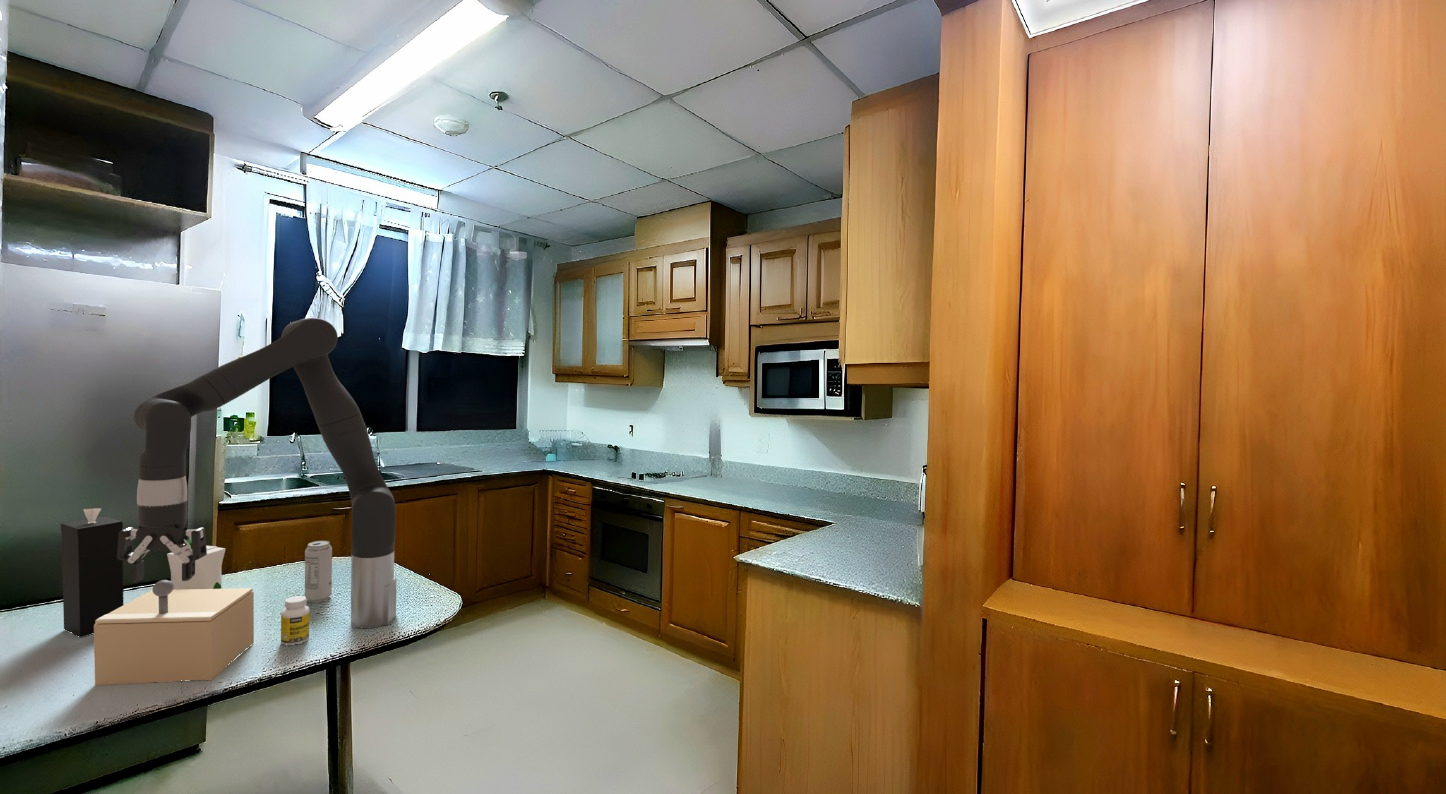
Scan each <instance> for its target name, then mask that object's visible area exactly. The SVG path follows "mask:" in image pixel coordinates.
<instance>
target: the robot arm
mask: <svg viewBox="0 0 1446 794" xmlns="http://www.w3.org/2000/svg"><path fill="white" fill-rule="evenodd" d="M280 336H281V337H279V338H278V339H276V340H275V341H273V342H272V343H269V344H268V345H266V346H263V347H261V348H259V349H257V350H256V351H253V352H251V353H249V354H245V355H244V356H241V357H239V358H236V359H233V360H232V361H229V362H227V363H225V364H222V365H220V366H218V367H216V368H213V369H212V370H210V371H208V372H206V373H204V374H202V375H200V376H198V377H196V378H195V379H193V380H191V381H189V382H187V383H184V384H182V385H179V386H175V387H174V388H171V389H168V390H166V391H163V392H161V393H159V394H156V395H153V396H151V397H149V398H147V399H146V400H144V401H143V402H141V403H140V404H138V406H137V407H136V408H135V410H134V412H133V421H134V423H135V425H136V426H137V427H138V428H139V429H140V430H141V431H144V432H145V433H146V434H145V446H144V449H143V450H142V451H141V452H140V453H139V457H138V484H137V489H136V490H137V491H136V507H137V508H136V514H137V519H136V521H137V522H136V524H137V526H138V527H137V528H134V527H133V526H129V527H126V528H124V529H123V528H122V530H121V531H119V535H118V551H117V559H118V560H123V561H125V562H127V563H129V577H130V579H131V580H132V582H139V581H142V580H144V578H145V560H143V559H144V557H146V555H147V554H148V553H149V552H154V553H155V552H158V551H160V552H167V553H168V552H169V553H170V552H171V553H173V554H174V555H177V556H178V557H179V558H180V559H181V560H182V561H183V562H184V563H182V581H188V580H190V579H191V578H192V577H193V576H194V575H195V561H196V560H198V559H200V558H202V557H204V556H206V555H207V548H206V546H207V534H206V528H205V527H201V526H200V527H198V528H193V529H189V528H188V527H187V526H188V525H187V521H188V482H187V476H186V472H187V471H186V467H187V465H186V463H187V461H186V460H187V459H186V453H187V449H188V445H189V441H190V437H191V430H192V417H195V416H196V415H198V414H201V413H204V412H211V411H215V410H217V409H219V408H221V407H223V406H225V405H227V404H228V403H230V402H232V401H234V400H236V399H237V398H239V397H240V396H243V395H245V394H247V393H248V392H249V391H252V390H253V389H254V388H256V387H258V386H259V385H262V384H263V383H265V382H267V381H268V380H270V379H272V378H273V377H275V376H277V375H279V374H281V373H283V372H285V371H288V370H289V369H291V368H293V369H294V371H295V372H296V374H297V376H298V378H299V381H300V382H301V384H302V387H303V389H304V393H305V395H306V398H307V401H308V403H309V407H310V409H311V411H312V413H313V416H314V419H315V421H316V422H315V423H316V424H317V427H318V429H319V432H320V435H321V437H322V440H323V441H324V444H325V446H326V448H327V450H328V451H329V453H330V454H331V456H332V458H333V459H334V461H335V462H336V464H337V465H338V467H339V469H340V470H341V473H342V475H343V476H344V479H345V482H346V485H347V488H348V493H349V496H350V500H351V543H350V544H351V563H350V566H351V567H350V568H351V571H350V575H351V576H350V625H351V626H352V625H353V626H352V627H354V626H355V627H354V628H357V627H360V628H359V629H370V628H369V627H373V628H376V627H378V628H379V627H381V625H382V626H388V625H389V624H390V623H391V622H392V621H393V619H394V618H395V617H396V616H397V578H395V541H396V518H397V517H396V516H397V515H396V514H397V513H396V512H397V511H396V509H397V508H396V502H395V497H394V495H393V493H392V492H391V490H390V489H389V487H388V485H387V484H386V481H385V479H384V478H383V475H382V474H381V472H380V470H379V468H378V465H377V463H376V460H375V456H374V451H373V446H372V443H371V438H370V436H369V435H370V434H369V432H368V428H367V425H366V423H365V421H364V418H363V415H362V413H361V410H360V408H359V406H358V403H356V401H355V400H354V398H353V397H352V395H351V394H350V393H349V391H348V390H347V389H346V388H345V387H344V385H343V384H342V383H341V382H340V380H339V379H338V377H337V375H336V374H335V372H334V370H333V367H332V364H331V361H330V358H329V356H328V355H329V354H330V353H331V352H332V351H334V349H335V348H336V347H337V343H338V339H339V338H338V332H337V329H336V328H335V326H334V325H333V324H331V323H330V322H329V321H327V320H325V319H323V318H318V317H304V318H302V319H299V320H296V321H295V320H294V321H293V322H292V321H291V322H290V323H289V324H287V325H285V327H284V329H283V331H282V333H281V335H280ZM187 537H188V539H189V540H192V549H191V546H190V544H189V543H188V542H187V541H186V540H187V539H186V538H187ZM136 538H137V539H138V540H139V541H140V542H141V543H140V544H138V546H137V547H136V548H135V549H134V546H135V545H134V542H135V539H136ZM179 545H180V546H181V548H179V547H178V546H179ZM361 627H362V628H361Z"/></svg>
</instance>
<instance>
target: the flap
mask: <svg viewBox="0 0 1446 794" xmlns="http://www.w3.org/2000/svg"><path fill="white" fill-rule="evenodd" d="M173 588H174V585H173V583H172V582H171V580H168V579H161V580H159V581H157V582H156V583H154V585H152V589H150V590H149V591H147V592H145V593H143V594H142V595H140V596H138V597H136V598H134V599H132V600H130V601H128V602H127V603H125V604H124V605H123V606H121V607H119V608H118V609H116V610H114V611H112V612H110V613H108V614H105V615H104V616H102V617H100V618H98V619H97V620H96V621H95V624H100V623H141V622H181V621H211V620H212V619H213V618H215V617H216V616H218V615H219V614H221V613H222V612H223V611H225V610H226V609H228V608H229V607H230V606H232V605H233V604H235V603H236V602H238V601H239V600H240V599H242V598H243V597H245V596H246V595H248V594H249V593H250V592H254V591H253V587H249V588H248V587H247V588H246V587H244V588H241V587H240V588H221V589H180V590H173Z"/></svg>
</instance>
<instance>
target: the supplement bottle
mask: <svg viewBox="0 0 1446 794" xmlns="http://www.w3.org/2000/svg"><path fill="white" fill-rule="evenodd" d="M284 606H285V608H284V609H283V610H282V611H281V612H280V613H281V614H280V643H281V644H282V645H283V644H285V645H284V646H288V645H292V646H294V645H293V644H298V645H300V644H299V643H301V642H304V643H306V642H307V641H308V640H309V638H310V612H311V611H310V607H309V606H308V605H307V599H306V597H305V595H303V596H302V595H296V596H291V597H288V598H286V599H285V600H284ZM307 639H308V640H307ZM306 640H307V641H306ZM286 644H287V645H286ZM301 644H302V643H301Z"/></svg>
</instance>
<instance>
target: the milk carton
mask: <svg viewBox="0 0 1446 794" xmlns="http://www.w3.org/2000/svg"><path fill="white" fill-rule="evenodd" d="M185 540H186V541H187V542H188V543H189V544H190V546H191V549H192V540H189V538H187V539H185ZM178 547H179V548H181V546H180V545H179V546H178ZM206 548H207V555H206V556H204V557H202V558H200V559H198V560H196V561H195V575H194V576H193V577H192V578H191V579H190V580H188V581H182V563H184V562H183V561H182V560H181V559H180V558H179V557H178V556H177V555H174V554H173V553H172V552H169V553H168V552H167V560H168V565H169V569H170V581H171V582H172V583H173V585H174V588H173V590H180V589H222V565H223V560H224V557H225V552H226V550H227V548H224V547H218V546H215V545H206Z"/></svg>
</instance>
